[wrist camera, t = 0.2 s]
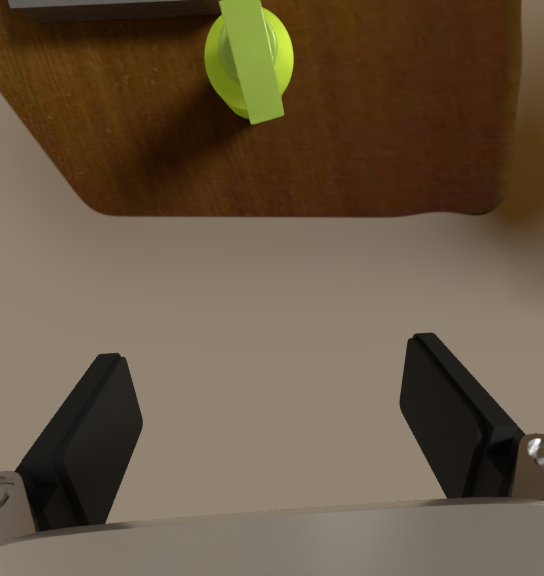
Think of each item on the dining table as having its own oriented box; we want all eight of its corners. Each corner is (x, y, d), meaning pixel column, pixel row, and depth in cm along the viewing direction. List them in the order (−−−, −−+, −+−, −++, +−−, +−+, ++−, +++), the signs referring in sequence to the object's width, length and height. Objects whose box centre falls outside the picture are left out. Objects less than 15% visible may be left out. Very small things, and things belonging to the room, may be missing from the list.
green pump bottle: (235, 136, 36) (214, 135, 18) (214, 62, 33) (164, -30, 15) (288, 121, 36) (322, 103, 17) (272, 44, 33) (292, -72, 15)
